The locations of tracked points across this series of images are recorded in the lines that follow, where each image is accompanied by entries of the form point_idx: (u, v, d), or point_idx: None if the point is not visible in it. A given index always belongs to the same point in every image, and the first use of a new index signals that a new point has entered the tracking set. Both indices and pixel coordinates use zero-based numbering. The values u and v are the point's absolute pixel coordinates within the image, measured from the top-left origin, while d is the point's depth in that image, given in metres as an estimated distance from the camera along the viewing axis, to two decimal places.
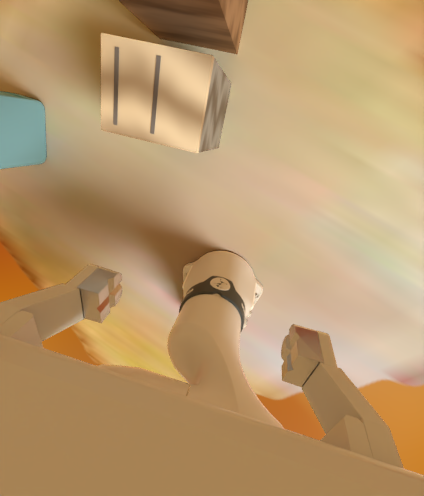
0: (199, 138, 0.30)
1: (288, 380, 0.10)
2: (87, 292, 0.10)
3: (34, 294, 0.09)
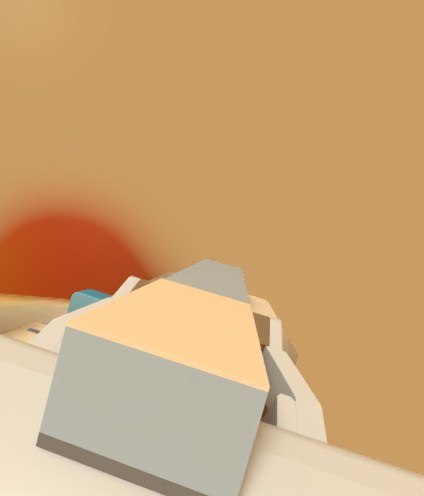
0: None
1: None
2: None
3: (82, 309, 0.09)
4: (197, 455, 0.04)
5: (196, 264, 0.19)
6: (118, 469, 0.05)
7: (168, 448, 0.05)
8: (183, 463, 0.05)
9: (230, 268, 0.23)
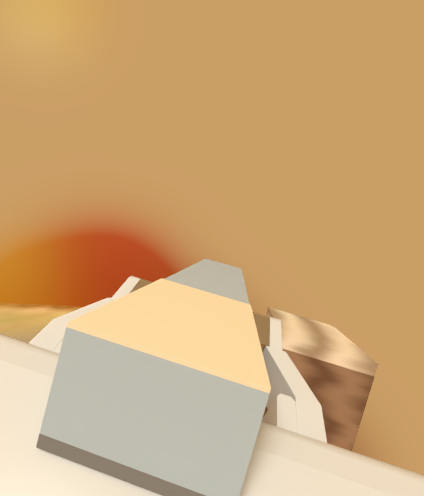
0: None
1: None
2: None
3: (82, 309, 0.09)
4: (198, 456, 0.04)
5: (196, 264, 0.19)
6: (119, 470, 0.05)
7: (169, 449, 0.05)
8: (184, 464, 0.05)
9: (230, 268, 0.23)
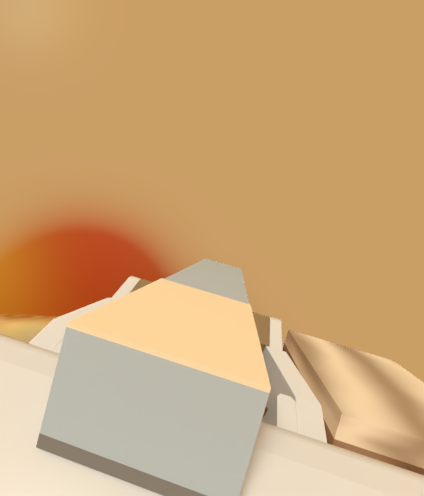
0: None
1: None
2: None
3: (82, 309, 0.09)
4: (198, 456, 0.04)
5: (196, 264, 0.19)
6: (118, 469, 0.05)
7: (169, 449, 0.05)
8: (184, 464, 0.05)
9: (229, 268, 0.23)
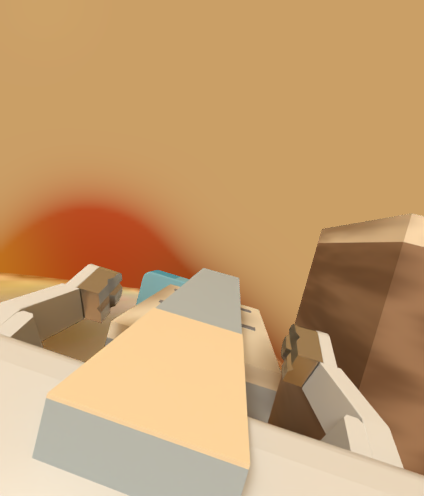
0: None
1: (288, 380, 0.10)
2: (87, 292, 0.10)
3: (33, 294, 0.09)
4: None
5: (192, 278, 0.19)
6: None
7: None
8: None
9: (227, 279, 0.23)
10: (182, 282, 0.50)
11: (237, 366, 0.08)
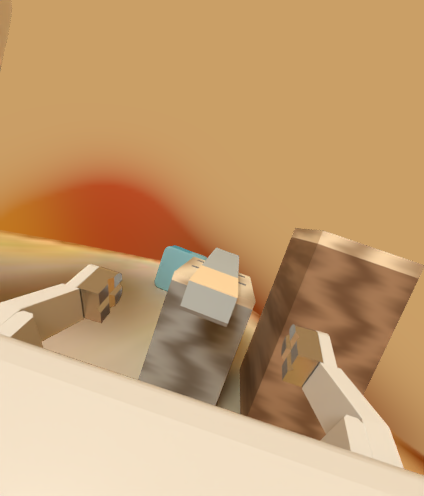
0: (186, 279, 0.28)
1: (288, 380, 0.10)
2: (87, 292, 0.10)
3: (33, 294, 0.09)
4: (219, 312, 0.19)
5: (212, 254, 0.34)
6: (199, 315, 0.19)
7: (212, 310, 0.19)
8: (216, 313, 0.19)
9: (231, 256, 0.38)
10: (195, 256, 0.65)
11: (235, 284, 0.22)
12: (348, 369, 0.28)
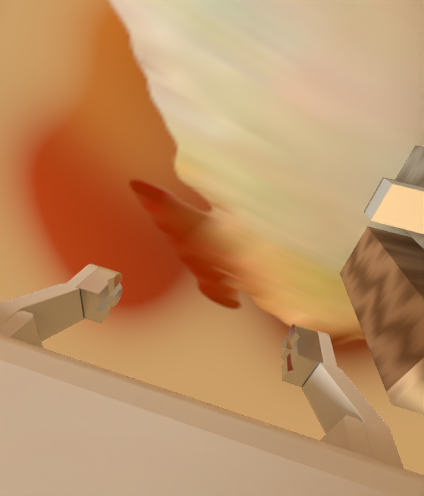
0: None
1: (288, 380, 0.10)
2: (87, 292, 0.10)
3: (34, 294, 0.09)
4: (370, 207, 0.27)
5: None
6: (376, 192, 0.27)
7: (373, 202, 0.26)
8: (370, 204, 0.27)
9: None
10: None
11: (404, 226, 0.25)
12: (365, 306, 0.38)
